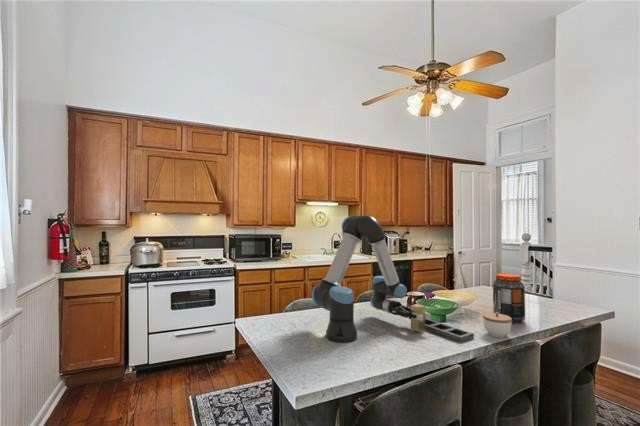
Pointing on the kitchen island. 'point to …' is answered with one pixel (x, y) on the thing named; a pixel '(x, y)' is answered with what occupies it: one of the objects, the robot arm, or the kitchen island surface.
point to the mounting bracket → (428, 294)
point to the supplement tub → (509, 296)
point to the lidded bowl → (497, 324)
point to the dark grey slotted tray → (448, 331)
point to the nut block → (416, 323)
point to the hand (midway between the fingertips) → (426, 317)
